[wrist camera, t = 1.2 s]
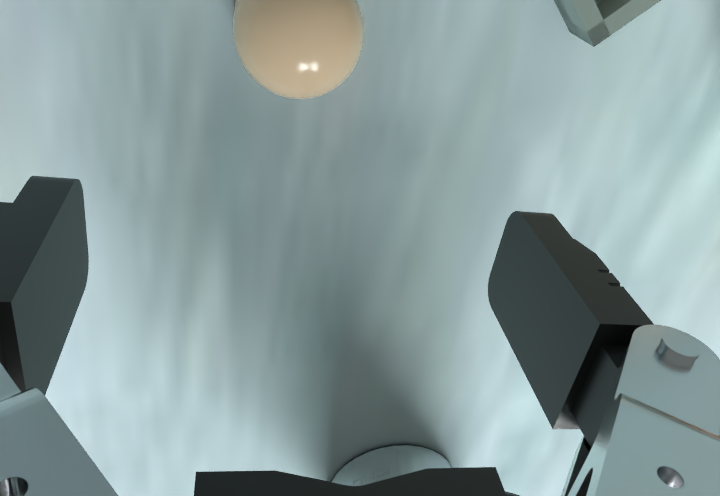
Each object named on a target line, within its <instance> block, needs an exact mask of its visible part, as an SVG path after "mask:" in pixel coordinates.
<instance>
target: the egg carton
mask: <svg viewBox="0 0 720 496" xmlns="http://www.w3.org/2000/svg"><path fill="white" fill-rule="evenodd" d="M554 1H555V3H556V5H557V7H558V9H559V11H560V13H561V15H562V17H563V19H564V21H565V23H566V25H567V27H568V29H569V31H570V32H571V33H572V34H574V35H576V36H577V37H579V38H581V39H582V40H584V41H585V42H587V43H589V44H590V45H592V46H596V45H597V44H599V43H600V42H601V41H603V40H604V39H606V38H607V37H609V36H610V35H612V34H613V33H614V32H616V31H617V30H619V29H620V28H622V27H623V26H625V25H626V24H627V23H629V22H630V21H632V20H633V19H635V18H636V17H637V16H639V15H640V14H642V13H643V12H645V11H646V10H648V9H649V8H650V7H652V6H653V5H655V4H656V3H658V2H659V1H661V0H554Z"/></svg>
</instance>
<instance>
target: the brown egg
mask: <svg viewBox="0 0 720 496" xmlns="http://www.w3.org/2000/svg"><path fill="white" fill-rule="evenodd" d="M233 36H234V43H235V47H236V51H237V53H238V56H239V58H240V61H241V62H242V64H243V66H244V68H245V69H246V70H247V72H248V73H249V74H250V76H251V77H252V78H253V79H254V80H255V81H256V82H257V83H258V84H260V85H261V86H262V87H264V88H265V89H267V90H268V91H270V92H272V93H274V94H277V95H280V96H283V97H286V98H292V99H310V98H315V97H318V96H321V95H324V94H326V93H328V92H330V91H332V90H334V89H335V88H337V87H338V86H339V85H340V84H341V83H343V82H344V81H345V80H346V79H347V77H348V76H349V75H350V74H351V72H352V71H353V70H354V68H355V66H356V64H357V62H358V60H359V57H360V55H361V51H362V47H363V40H364V24H363V17H362V14H361V10H360V7H359V5H358V2H357V0H236V1H235V10H234V19H233Z"/></svg>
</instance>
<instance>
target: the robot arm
mask: <svg viewBox="0 0 720 496" xmlns="http://www.w3.org/2000/svg"><path fill="white" fill-rule="evenodd" d="M87 276H88V245H87V233H86V222H85V210H84V198H83V189H82V185H81V182H80V180H78V179H69V178H55V177H41V176H32V177H30V178H29V180H28V181H27V183H26V184H25V186H24V187H23V189H22V190H21V192H20V193H19V195H18V196H17V198H16V199H15V201H14V202H13V203H6V202H0V496H118V495H117V493H116V492H115V491H114V489H113V488H112V487H111V485H110V484H109V482H108V481H107V480H106V478H105V477H104V476H103V474H102V473H101V472H100V470H99V469H98V467H97V466H96V465H95V463H94V462H93V461H92V459H91V458H90V457H89V455H88V454H87V453H86V451H85V450H84V448H83V447H82V446H81V444H80V443H79V442H78V440H77V439H76V438H75V436H74V435H73V434H72V432H71V431H70V429H69V428H68V427H67V425H66V424H65V423H64V421H63V420H62V419H61V417H60V416H59V414H58V413H57V412H56V410H55V409H54V408H53V406H52V405H51V404H50V402H49V401H48V400H47V398H46V397H45V394H46V391H47V388H48V386H49V383H50V380H51V378H52V375H53V372H54V370H55V367H56V364H57V362H58V359H59V357H60V354H61V351H62V349H63V346H64V343H65V341H66V338H67V335H68V333H69V330H70V327H71V325H72V322H73V319H74V317H75V314H76V311H77V309H78V306H79V303H80V301H81V298H82V295H83V293H84V290H85V287H86V282H87ZM488 297H489V302H490V305H491V308H492V310H493V312H494V314H495V316H496V318H497V320H498V322H499V324H500V326H501V328H502V330H503V331H504V333H505V335H506V337H507V339H508V341H509V343H510V345H511V347H512V349H513V351H514V353H515V355H516V357H517V359H518V361H519V363H520V365H521V367H522V369H523V371H524V373H525V375H526V377H527V379H528V381H529V383H530V385H531V387H532V389H533V391H534V393H535V395H536V397H537V399H538V401H539V403H540V405H541V407H542V409H543V411H544V413H545V415H546V417H547V419H548V421H549V422H550V424H551V426H552V428H553V429H581V431H582V433H583V437H582V439H581V441H580V443H579V445H578V447H577V449H576V452H575V455H574V458H573V461H572V465H571V468H570V471H569V474H568V477H567V480H566V483H565V486H564V489H563V492H562V495H561V496H720V360H719V358H718V357H717V355H716V354H715V353H714V352H713V351H712V350H711V349H710V348H709V347H708V346H706V345H705V344H704V343H702V342H701V341H699V340H698V339H696V338H695V337H693V336H691V335H689V334H687V333H685V332H683V331H680V330H677V329H675V328H671V327H667V326H662V325H654V324H653V323H652V321H651V320H650V319H649V318H648V317H647V315H646V314H645V313H644V312H643V311H642V309H641V308H640V307H639V306H638V304H637V303H636V302H635V301H634V300H633V298H632V297H631V296H630V295H629V294H628V292H627V291H626V290H625V289H624V287H620V283H619V281H618V280H617V279H616V278H615V276H614V275H613V274H612V273H609V269H608V268H607V267H606V266H605V264H604V263H603V262H602V261H601V259H600V258H599V257H598V256H597V255H596V254H595V253H594V252H592V251H591V250H590V249H588V248H587V247H585V246H584V245H582V244H581V243H580V242H578V241H577V240H575V239H573V238H572V237H571V236H570V235H569V233H568V232H567V231H566V230H565V228H564V227H563V226H562V224H561V223H560V222H559V221H558V219H557V218H556V217H555V216H554V215H553V214H549V213H535V212H520V211H515V212H513V213H512V214H511V215H510V217H509V218H508V220H507V223H506V226H505V229H504V232H503V235H502V238H501V242H500V245H499V248H498V251H497V254H496V257H495V261H494V264H493V267H492V270H491V273H490V277H489V283H488ZM194 496H519V495H516V494H513V493H509V492H505V491H504V488H503V486H502V483H501V481H500V478H499V475H498V473H497V470H496V467H482V468H451V466H450V464H449V462H448V461H447V460H446V459H445V458H444V457H443V456H442V455H440V454H438V453H436V452H434V451H433V450H430V449H426V448H423V447H418V446H410V445H402V446H390V447H384V448H379V449H376V450H373V451H370V452H367V453H365V454H363V455H361V456H359V457H357V458H355V459H353V460H352V461H351V462H349V463H348V464H346V465H345V466H344V467H343V468H342V469H341V470H340V471H339V472H338V473H337V474H336V475H335V477H334V479H333V480H332V482H328V481H323V480H318V479H313V478H308V477H303V476H298V475H294V474H289V473H284V472H279V471H225V472H196V479H195V490H194Z"/></svg>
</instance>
